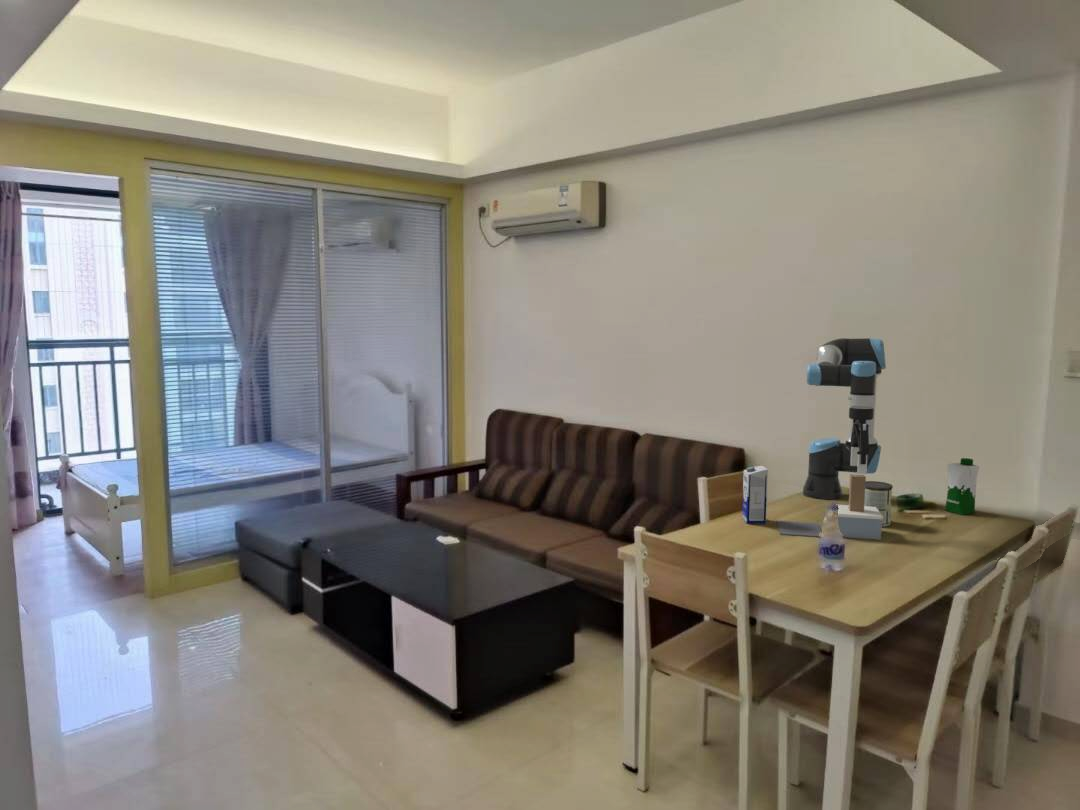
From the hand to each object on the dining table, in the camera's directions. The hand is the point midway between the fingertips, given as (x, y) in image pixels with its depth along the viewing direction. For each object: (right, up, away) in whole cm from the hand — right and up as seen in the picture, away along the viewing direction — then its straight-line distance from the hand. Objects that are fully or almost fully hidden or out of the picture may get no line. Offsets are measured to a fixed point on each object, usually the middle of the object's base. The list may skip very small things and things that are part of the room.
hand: (858, 469), depth 247 cm
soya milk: (+51, -19, +29) cm, 62 cm away
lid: (0, -17, +2) cm, 17 cm away
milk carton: (-30, -20, +18) cm, 40 cm away
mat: (-17, -21, +7) cm, 28 cm away
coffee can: (+13, -21, +15) cm, 29 cm away
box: (0, -22, +3) cm, 22 cm away
